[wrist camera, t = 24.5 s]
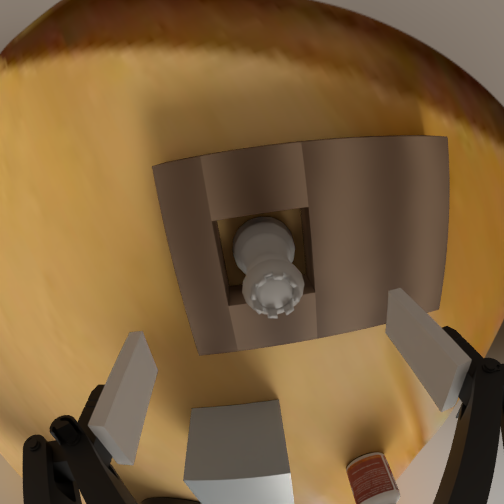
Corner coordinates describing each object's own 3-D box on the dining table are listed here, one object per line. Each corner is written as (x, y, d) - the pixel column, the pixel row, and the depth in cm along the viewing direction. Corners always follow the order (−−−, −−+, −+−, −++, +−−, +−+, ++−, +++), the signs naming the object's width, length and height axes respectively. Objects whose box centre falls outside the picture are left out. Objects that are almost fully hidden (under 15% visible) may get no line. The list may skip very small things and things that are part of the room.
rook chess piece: (302, 254, 23) (332, 309, 16) (251, 282, 24) (257, 346, 16) (275, 203, 22) (296, 237, 14) (220, 233, 22) (212, 282, 15)
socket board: (202, 333, 25) (199, 355, 22) (163, 162, 20) (152, 166, 17) (422, 293, 25) (438, 309, 22) (425, 135, 20) (447, 136, 17)
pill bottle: (336, 470, 35) (352, 530, 25) (366, 448, 34) (388, 511, 23) (363, 472, 37) (381, 526, 26) (391, 452, 35) (414, 508, 25)
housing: (211, 451, 31) (209, 512, 23) (191, 408, 28) (183, 480, 20) (285, 444, 31) (294, 506, 23) (278, 399, 28) (290, 473, 20)
